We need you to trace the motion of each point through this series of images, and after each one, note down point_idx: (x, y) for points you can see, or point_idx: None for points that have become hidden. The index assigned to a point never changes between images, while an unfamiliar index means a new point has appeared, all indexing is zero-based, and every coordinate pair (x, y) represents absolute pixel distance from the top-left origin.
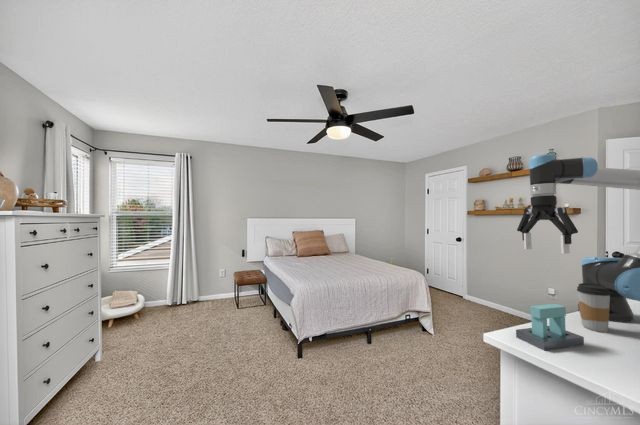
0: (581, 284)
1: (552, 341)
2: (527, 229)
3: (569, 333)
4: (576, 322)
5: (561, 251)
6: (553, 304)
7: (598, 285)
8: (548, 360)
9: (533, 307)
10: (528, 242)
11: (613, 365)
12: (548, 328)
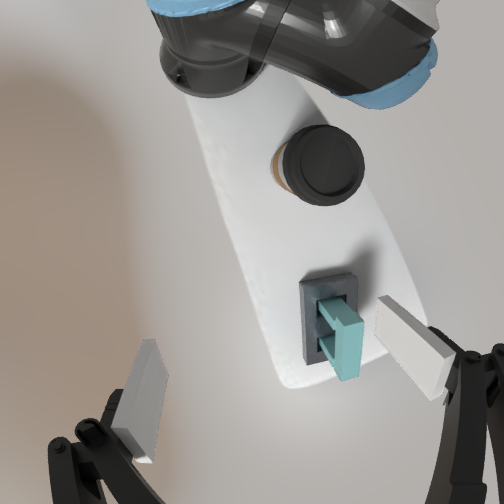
0: (303, 178)
1: None
2: (147, 483)
3: (340, 289)
4: (252, 171)
5: (379, 340)
6: (346, 333)
7: (323, 133)
8: (367, 357)
9: (347, 379)
10: (154, 391)
11: (397, 289)
12: (314, 309)
